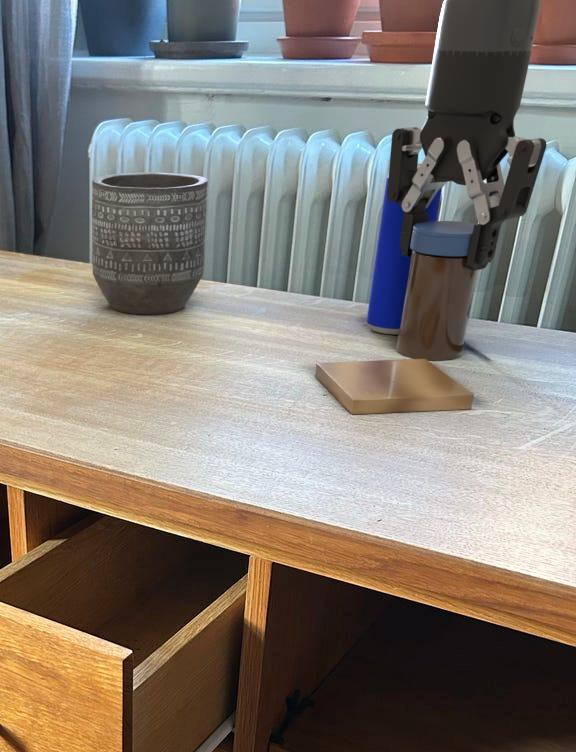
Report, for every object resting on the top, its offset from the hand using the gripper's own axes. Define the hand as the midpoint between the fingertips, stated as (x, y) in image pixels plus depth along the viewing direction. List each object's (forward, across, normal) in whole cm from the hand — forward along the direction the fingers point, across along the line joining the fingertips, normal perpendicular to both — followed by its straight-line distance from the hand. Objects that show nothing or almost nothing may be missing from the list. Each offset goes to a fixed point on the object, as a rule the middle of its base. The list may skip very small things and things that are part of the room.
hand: (442, 261), depth 87 cm
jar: (+8, 0, 0) cm, 8 cm away
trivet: (+8, -6, +12) cm, 16 cm away
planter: (+9, +30, +10) cm, 33 cm away
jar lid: (-3, 0, 0) cm, 3 cm away
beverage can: (+8, +7, -4) cm, 12 cm away
